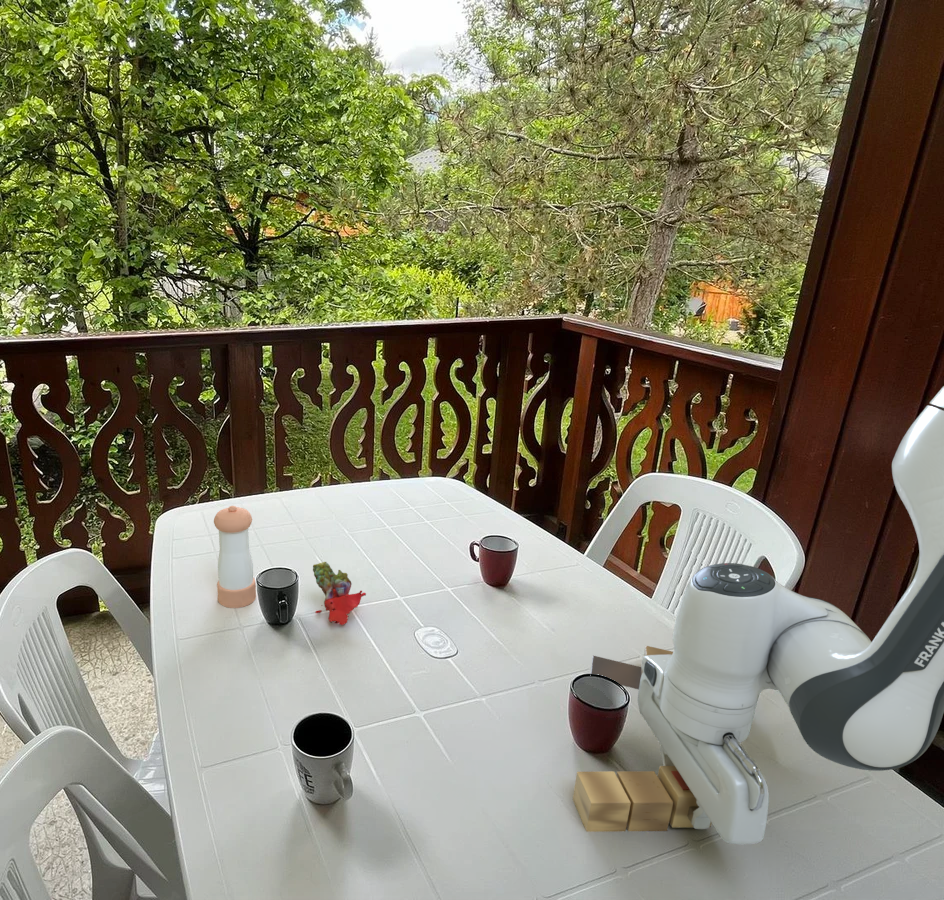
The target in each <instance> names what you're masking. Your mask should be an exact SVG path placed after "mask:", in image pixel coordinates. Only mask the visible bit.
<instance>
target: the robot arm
mask: <svg viewBox="0 0 944 900" xmlns="http://www.w3.org/2000/svg"><path fill="white" fill-rule="evenodd" d="M891 474H892V479H893V484H894V486H895V490H896V492H897V494H898V496H899V498H900V500H901V501H902V504H903V506H904V507H905V509H906V510H907V513H908V514H909V515H908V516H909V517H910V519H911V522H912V525H913V527H914V531H915V533H916V537H917V543H918V550H919V557H918V565H917V569H916V572H915V575H914V577H913V580H912V581H911V583H910V584H909V586H908V587H907V588H906V590H905V591H904V593H903V594H902V596H901V598H900V599H899V601H898V602H897V604H896V605H895V606H894V608H893V609H892V611H891V612H890V614H889V615H888V617H887V618H886V620H885V621H884V623H883V625H882V626H881V628H880V629H879V631H878V632H877V633H876V635H875V637H874V638H873V640H872V641H871V639H870V638H869V636H868V635H867V634H866V633H865V632H864V631H863V630H862V629H861V628H860V627H859V626H858V625H857V624H856V623H855V622H854V621H853V620H852V619H851V617H849V616H848V615H847V614H846V613H845V612H844V611H842V610H841V609H840V608H839V607H837V606H835V605H834V604H832V603H831V602H829V601H826V600H824V599H820V598H816V597H812V596H805V595H802V594H800V593H797V592H795V591H793V590H791V589H789V588H787V587H786V586H784V585H782V584H781V583H780V582H779V581H777V580H776V579H775V578H774V576H772V575H771V574H770V573H768V572H766V571H765V570H763V569H761V568H759V567H755V566H752V565H748V564H743V563H735V562H722V563H715V564H711V565H707V566H704V567H702V568H701V569H699V570H697V571H696V572H695V573H694V574H693V575H692V577H691V578H690V579H689V581H688V583H687V584H686V587H685V588H684V592H683V594H682V596H681V600H680V603H679V606H678V609H677V614H676V618H675V621H674V626H673V631H672V644H673V651H672V652H673V654H672V655H669V654H667V655H647V656H644V655H643V656H642V659H641V664H640V665H641V666H640V667H641V668H642V671H643V673H642V675H641V679H640V685H639V689H638V693H637V705H638V710H639V713H640V715H641V717H642V718H643V720H644V721H645V723H646V724H647V726H648V727H649V729H650V730H651V732H652V734H653V735H654V737H655V738H656V739H657V741H658V743H659V744H660V746H659V747H660V748H659V749H660V756H661V761H662V766H675V767H676V769H677V770H678V772H679V773H680V775H681V776H682V778H683V780H684V781H685V783H686V784H687V786H688V787H689V789H690V790H691V792H692V793H693V795H694V796H695V798H696V800H697V801H696V803H697V805H698V807H696V806H693V807H689V810H688V815H687V817H688V819H689V820H690V822H691V824H692V825H693V827H692V828H694V829H695V830H708V829H709V828H710V827H709V826H710V823H712V824H711V825H713V828H714V829H715V831H716V832H717V833H718V835H719V837H720V838H721V839H722V841H723V842H724V843H727V844H731V845H755V844H760V843H761V842H762V841H763V840H764V837H765V833H766V829H767V823H768V822H767V821H768V814H769V804H770V791H769V786H768V783H767V781H766V778H765V776H764V775H763V774H762V772H761V769H760V767H759V765H758V763H757V762H756V761H755V760H754V759H753V758H752V757H751V756H750V755H749V754H748V752H747V751H746V750H745V747H744V746H743V745H742V744H741V743H743V742H745V741H746V740H747V739H748V738H749V735H750V731H751V728H752V724H753V720H754V716H755V712H756V709H757V705H758V701H759V697H760V694H761V693H762V692H763V691H764V690H773V691H778V692H779V694H780V696H781V697H782V699H783V701H784V703H786V705H787V706H788V708H789V712H790V714H791V716H792V718H793V720H794V722H795V724H796V726H797V728H798V731H799V733H800V735H801V736H802V739H803V740H804V742H805V744H807V745H808V747H809V748H810V749H811V750H812V751H813V752H815V753H816V754H818V755H819V756H821V757H822V758H824V759H826V760H828V761H830V762H833V763H836V764H838V765H841V766H844V767H848V768H852V769H857V770H864V771H874V772H876V771H877V772H880V771H881V772H883V771H890V770H891V771H892V770H896V769H900V768H904V767H905V766H907V765H909V764H911V763H914V761H916V760H917V759H919V758H920V757H921V756H922V755H923V754H924V753H925V752H926V751H927V750H928V748H929V747H931V744H932V742H933V741H934V739H935V737H936V735H937V733H938V730H939V728H940V725H941V723H942V719H943V716H944V385H943V386H942V387H941V388H940V390H938V392H937V393H936V394H935V396H934V397H933V398H932V399H930V401H929V404H927V405H926V406H925V407H924V409H923V410H922V411H921V412H920V413H919V415H918V416H917V417H916V419H915V420H914V421H913V422H912V424H911V425H910V427H909V428H908V429H907V430H906V433H905V434H904V436H903V437H902V439H901V441H900V443H899V445H898V447H897V449H896V451H895V454H894V456H893V458H892V462H891Z"/></svg>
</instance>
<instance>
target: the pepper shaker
mask: <svg viewBox="0 0 944 900" xmlns="http://www.w3.org/2000/svg"><path fill="white" fill-rule="evenodd" d="M252 522H253V517H252V514H251V513H250V511H249V510H247V509H246V508H244V507H239V506H236V505H230V506H228V507H225V508H223V509H220V510H218V512H217V513H216V514H215V516H214V519H213V525H214V527H215V528H216V529H217V530H218V543H219V551H218V560H217V575H218V580H217V583H216V587H217V588H216V591H217V601H218V603H219V604H220V605H221V606H223V607H224V608H230V609H239V608H244V607H247V606H249V605H251V604H253V603H254V602H255V601H256V598H257V585H256V579H255V577H254V562H253V557H252V553H251V548H250V534H249V533H250V531H249V528H250V527H251V525H252Z"/></svg>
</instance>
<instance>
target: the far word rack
mask: <svg viewBox="0 0 944 900" xmlns="http://www.w3.org/2000/svg"><path fill="white" fill-rule="evenodd" d="M667 654H669V655H672V654H673V651H672V650H669V649H663V648H659V647H654V646H650V645H645V648H644V653H643V656H647V655H667ZM642 673H643V671H642V668H641V666H639V665H634V664H630V663H626V662H622V661H619V660H614V659H609V658H605V657H601V656H598V655H597V656H596V655H592V660H591V668H590V675H591V674H599V675H603V676H606V677H608V678H611V679H612V680H615V681H616V682H618V683H619V684H620V686H624V687H628V688H632V689H635V690H639V685H640V679H641V675H642ZM619 684H618V685H619Z"/></svg>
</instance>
